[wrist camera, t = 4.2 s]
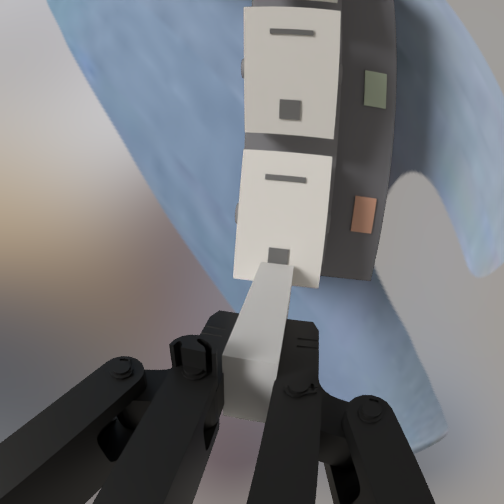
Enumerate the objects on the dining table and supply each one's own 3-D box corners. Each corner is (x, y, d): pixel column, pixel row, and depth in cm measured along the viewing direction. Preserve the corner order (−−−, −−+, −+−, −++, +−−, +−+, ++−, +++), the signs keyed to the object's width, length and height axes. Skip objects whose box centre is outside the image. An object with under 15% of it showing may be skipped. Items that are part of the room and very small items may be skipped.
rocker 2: (245, 154, 15) (238, 148, 13) (333, 161, 14) (336, 157, 12) (236, 270, 16) (228, 277, 14) (320, 280, 15) (322, 289, 13)
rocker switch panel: (267, -32, 14) (253, -74, 9) (373, -23, 13) (389, -62, 8) (254, 238, 23) (235, 274, 17) (359, 250, 22) (373, 289, 16)
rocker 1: (246, 12, 11) (238, 7, 9) (341, 16, 10) (345, 11, 9) (247, 124, 14) (240, 132, 13) (335, 131, 14) (338, 140, 12)
